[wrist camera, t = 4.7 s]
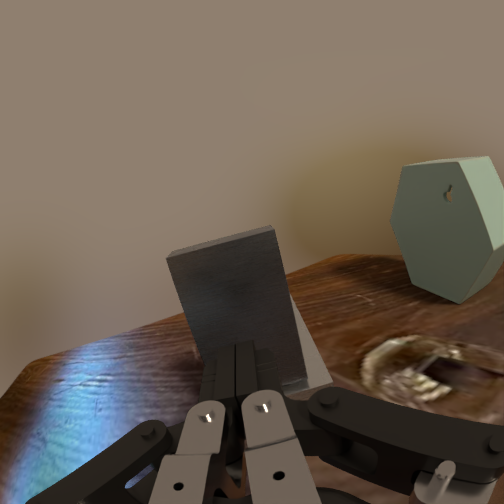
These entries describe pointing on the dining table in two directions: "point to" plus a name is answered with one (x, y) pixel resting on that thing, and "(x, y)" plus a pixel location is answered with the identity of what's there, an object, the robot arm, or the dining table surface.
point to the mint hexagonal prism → (450, 225)
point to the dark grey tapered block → (239, 298)
